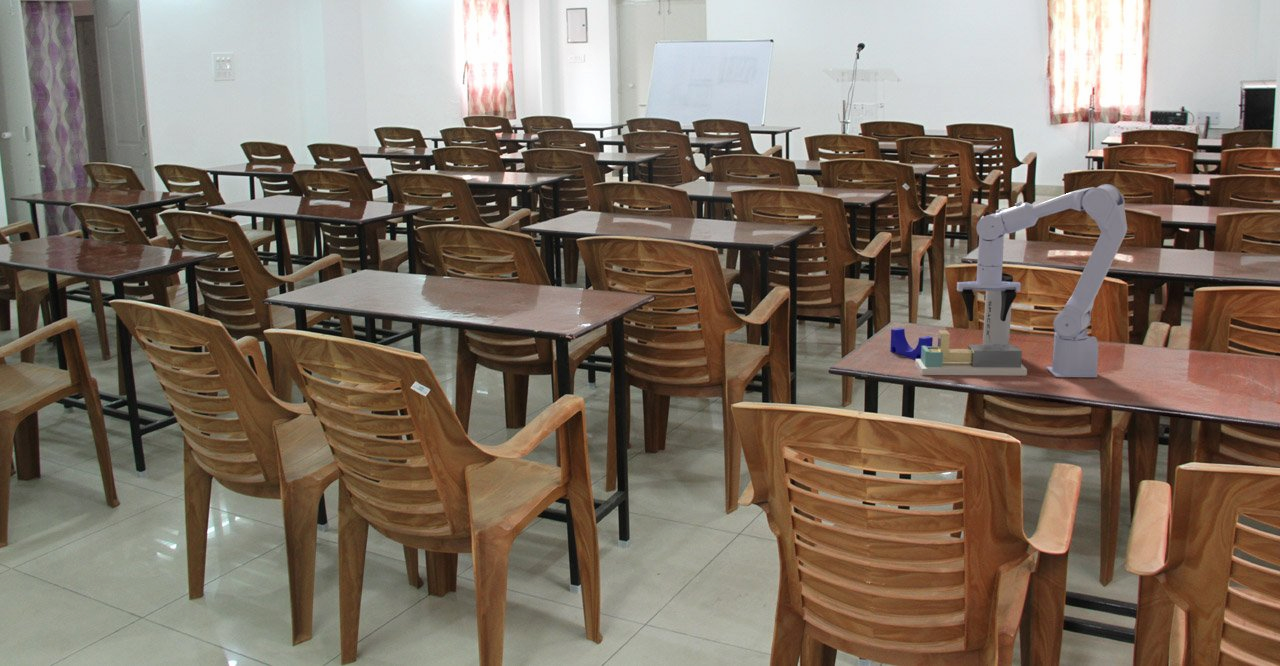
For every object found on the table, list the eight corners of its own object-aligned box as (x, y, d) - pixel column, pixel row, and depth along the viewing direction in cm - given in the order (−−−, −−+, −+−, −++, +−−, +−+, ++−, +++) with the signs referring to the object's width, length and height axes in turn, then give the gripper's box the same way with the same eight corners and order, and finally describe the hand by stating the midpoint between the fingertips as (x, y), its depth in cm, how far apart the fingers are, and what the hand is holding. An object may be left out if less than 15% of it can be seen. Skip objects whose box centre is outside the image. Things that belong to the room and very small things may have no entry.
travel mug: (1005, 348, 284) (1010, 271, 279) (1010, 355, 277) (1016, 276, 273) (979, 348, 284) (984, 271, 280) (985, 355, 278) (989, 276, 273)
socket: (937, 360, 267) (938, 345, 267) (942, 366, 262) (943, 351, 261) (920, 360, 268) (921, 345, 267) (925, 366, 262) (925, 351, 261)
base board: (1016, 365, 268) (1017, 359, 268) (1026, 375, 259) (1027, 369, 259) (915, 364, 270) (915, 358, 269) (921, 374, 261) (922, 368, 261)
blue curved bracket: (936, 360, 274) (937, 336, 273) (921, 362, 272) (923, 338, 271) (904, 350, 285) (905, 327, 284) (890, 352, 283) (891, 329, 282)
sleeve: (1014, 360, 266) (1015, 344, 265) (1020, 367, 260) (1022, 350, 260) (967, 360, 267) (968, 344, 266) (972, 367, 261) (973, 350, 260)
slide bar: (990, 359, 265) (992, 330, 264) (994, 363, 262) (995, 334, 260) (926, 358, 266) (927, 330, 265) (929, 362, 263) (930, 334, 261)
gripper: (1016, 261, 269) (1013, 316, 272) (955, 261, 270) (952, 316, 273) (1024, 266, 262) (1020, 323, 266) (961, 266, 263) (958, 323, 267)
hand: (986, 320), depth 269 cm, fingers open, 7 cm apart
